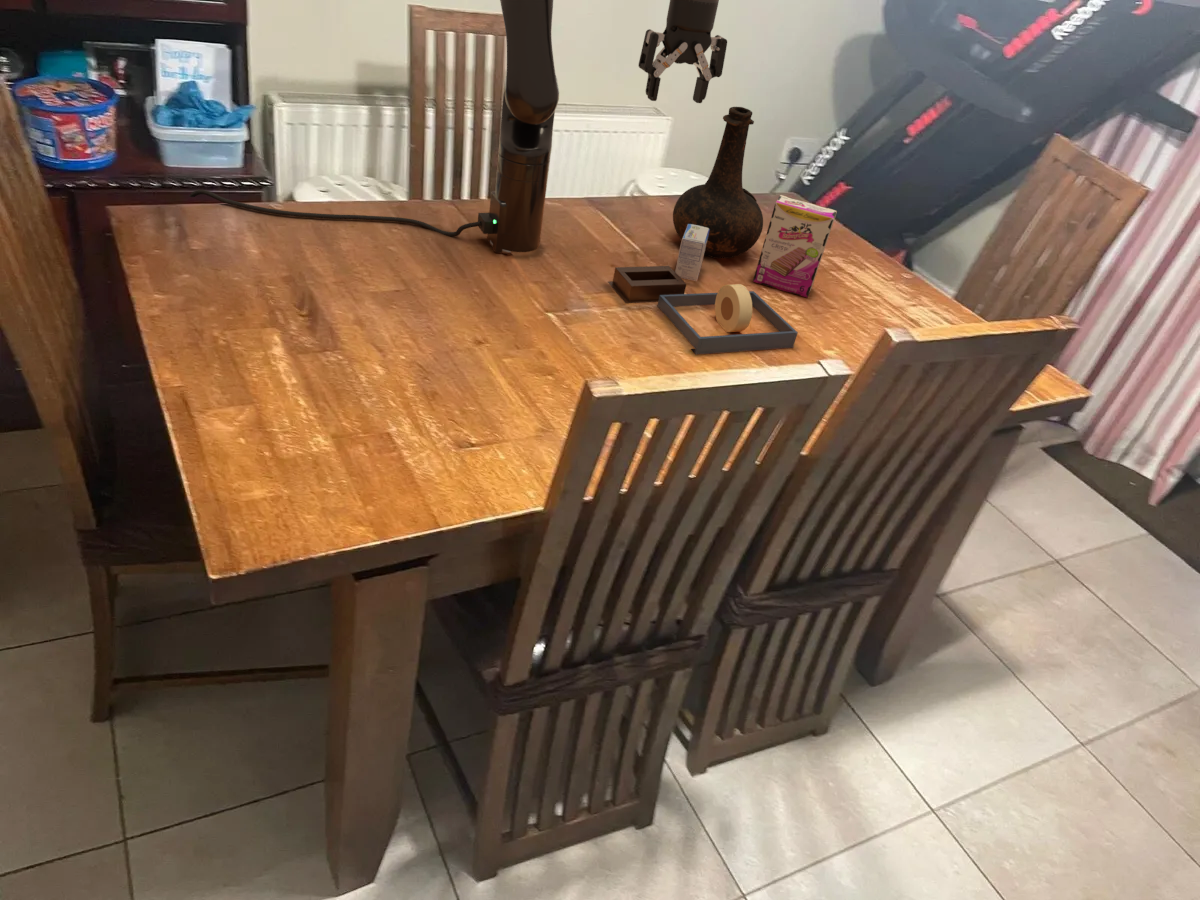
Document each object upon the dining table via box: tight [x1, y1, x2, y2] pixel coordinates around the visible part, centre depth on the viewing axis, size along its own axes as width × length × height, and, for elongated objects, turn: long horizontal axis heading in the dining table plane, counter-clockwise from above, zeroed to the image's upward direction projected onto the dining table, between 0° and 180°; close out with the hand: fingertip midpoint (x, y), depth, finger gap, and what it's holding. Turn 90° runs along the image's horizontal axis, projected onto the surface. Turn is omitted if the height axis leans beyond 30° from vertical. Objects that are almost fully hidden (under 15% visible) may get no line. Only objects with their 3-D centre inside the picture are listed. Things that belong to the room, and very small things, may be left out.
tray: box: [657, 290, 799, 356], centre depth 158 cm, size 19×15×3 cm
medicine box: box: [674, 224, 710, 282], centre depth 173 cm, size 8×4×9 cm, turn 168°
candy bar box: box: [752, 194, 838, 298], centre depth 173 cm, size 11×5×16 cm, turn 71°
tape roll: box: [714, 283, 753, 333], centre depth 156 cm, size 2×8×8 cm, turn 22°
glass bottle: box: [672, 106, 764, 259], centre depth 179 cm, size 18×18×28 cm
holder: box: [607, 265, 687, 304], centre depth 164 cm, size 8×12×4 cm
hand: (674, 100), depth 153 cm, fingers open, 8 cm apart
